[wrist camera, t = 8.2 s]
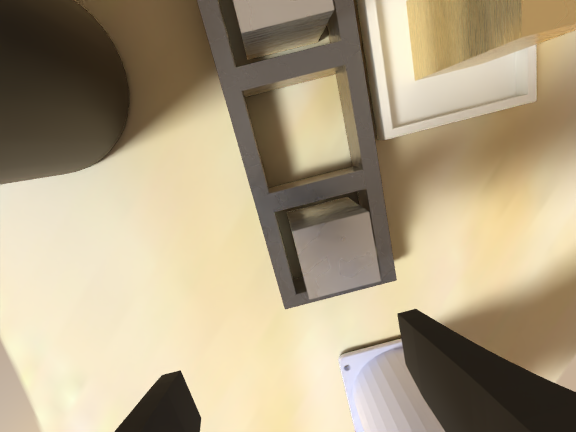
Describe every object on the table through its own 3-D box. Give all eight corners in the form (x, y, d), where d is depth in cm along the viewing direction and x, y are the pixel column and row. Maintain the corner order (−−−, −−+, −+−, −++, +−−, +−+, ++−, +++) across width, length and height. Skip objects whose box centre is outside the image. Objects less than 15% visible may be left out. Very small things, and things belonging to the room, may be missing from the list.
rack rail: (383, 266, 19) (412, 297, 16) (283, 292, 19) (287, 330, 16) (325, -86, 14) (347, -171, 10) (186, -51, 14) (156, -124, 10)
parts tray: (518, 103, 17) (536, 101, 16) (377, 140, 17) (385, 139, 16) (515, -73, 15) (536, -91, 14) (351, -32, 15) (358, -47, 14)
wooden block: (481, 63, 16) (636, 8, 9) (414, 80, 16) (521, 37, 9) (477, -17, 15) (648, -145, 8) (406, 1, 15) (519, -112, 8)
